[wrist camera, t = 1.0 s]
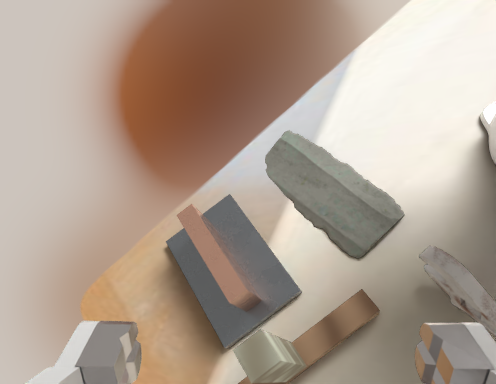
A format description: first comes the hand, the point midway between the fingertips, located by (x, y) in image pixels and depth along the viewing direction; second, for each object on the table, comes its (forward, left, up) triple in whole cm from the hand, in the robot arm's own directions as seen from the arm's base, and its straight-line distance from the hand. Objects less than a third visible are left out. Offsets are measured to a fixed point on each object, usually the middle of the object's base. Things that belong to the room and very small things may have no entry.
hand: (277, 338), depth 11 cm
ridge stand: (+2, -20, -38) cm, 43 cm away
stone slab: (-15, -18, -39) cm, 46 cm away
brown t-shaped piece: (+4, -5, -38) cm, 39 cm away
